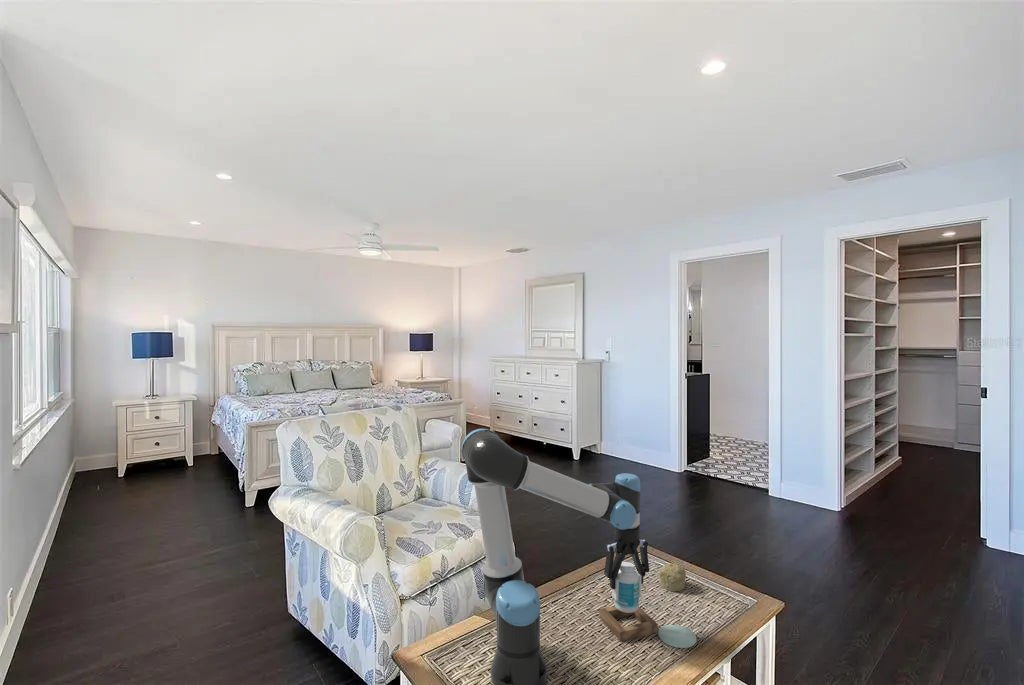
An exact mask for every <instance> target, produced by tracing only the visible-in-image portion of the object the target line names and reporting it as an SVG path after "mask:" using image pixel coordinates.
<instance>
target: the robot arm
mask: <svg viewBox="0 0 1024 685" xmlns="http://www.w3.org/2000/svg"><path fill="white" fill-rule="evenodd" d="M461 444H462V445H461V456H462V457H463V460H464V461H465V462H464V463H465V467H466V468H465V469H466V474H467V480H468V482H469V483H470V484H472V485H473V486H474V491H475V497H476V504H477V510H478V516H479V523H480V529H481V534H482V541H483V546H484V547H483V548H484V553H485V561H486V562H485V564H484V565H483V566H482V574H483V581H482V585H483V586H482V587H483V591H484V592H483V593H484V595H485V597H486V599H487V601H488V604H489V606H490V609H491V611H492V615H493V617H494V618H495V621H496V650H495V653H494V656H493V659H492V661H491V665H490V681H491V683H492V685H546V683H547V678H548V677H547V676H548V675H547V674H548V670H547V669H548V668H547V664H546V661H545V659H544V655H543V651H542V649H541V616H540V615H541V600H540V595H539V592H538V589H536V587H535V586H534V585H533V584H531V583H527V582H526V581H525V578H524V577H525V576H524V571H523V570H524V569H523V565H522V564H523V563H522V560H521V559H520V558H519V557H517V556H516V553H515V546H514V538H513V533H512V525H511V519H510V514H509V513H510V512H509V506H508V502H507V494H506V488H507V489H509V490H512V491H517V490H519V489H521V490H523V491H527V492H529V493H531V494H534V495H537V496H540V497H543V498H545V499H547V500H551V501H553V502H556V503H559V504H561V505H563V506H566V507H568V508H571V509H574V510H577V511H579V512H582V513H585V514H587V515H590V516H592V517H595V518H597V519H599V520H603V521H605V522H608V523H610V524H611V525H612V527H614V536H615V540H614V542H613V543H611V544H610V543H606V545H605V548H606V555H605V556H606V557H605V564H604V572H603V573H604V574H603V575H604V576H605V577H606V578H607V579H609V586H610V589H611V597H612V598H613V599H614V601H615V600H616V601H618V595H619V580H618V579H617V575H618V572H619V569H620V566H621V564H622V562H624V561H623V560H625V558H626V556H628V555H631V557H632V560H633V563H634V566H635V569H636V571H635V572H636V573H637V574H638V576H639V597H642V585H644V578H645V576H646V575H647V574H646V573H649V572H650V563H649V554H648V547H649V546H648V545H649V542H648V541H646V540H645V539H644V538H641V539H640V531H641V529H640V528H641V527H640V524H641V523H640V522H641V521H640V518H641V516H640V514H641V513H640V512H641V492H642V491H641V480H640V477H639V476H638V475H636V474H633V473H629V472H627V473H624V472H623V473H620V474H619V473H618V474H617V475H615V480H614V481H611V482H601V483H585V482H583V481H580V480H578V479H575V478H573V477H570V476H567V475H566V474H562V473H560V472H558V471H555V470H553V469H551V468H547V467H545V466H543V465H541V464H538V463H535V462H532V461H530V458H529V457H528V455H525V454H523V453H520V452H519V451H517V450H515V449H514V448H512V447H511V446H510V445H508V444H507V443H506V442H505V441H504V440H503V439H502V438H500V437H499V435H498V434H497V433H496V432H495V431H493V430H490V429H488V428H477V429H475V430H472V431H471V432H469V433H468V434H467V435H466V436H465V438H464V440H463V441H462V443H461ZM638 548H639V552H638ZM639 553H640V554H639Z"/></svg>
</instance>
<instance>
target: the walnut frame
mask: <svg viewBox="0 0 1024 685" xmlns="http://www.w3.org/2000/svg"><path fill="white" fill-rule="evenodd" d="M598 611H599V619H600V620H601V622H602V623H603V624H604V625H605V626H606V627H607V628H608V630H610V632H611V633H612V634H613V635H614V636H615V637H616V639H617V640H618V641H619V642H624V641H628V640H633V639H637V638H641V637H645V636H650V635H654V634H658V631H659V629H658V626H659V625H658V623H657V622H656V620H654V619H653V618H652V617H651V616H650V615H649V614H648V613H647V612H646V611H644V609H643V608H642V607H640V606H638V610H637V611H635V612H633V613H625V612H622V611H620V610H618V609H617V608H616V607H615V605H614V606H613V605H612V606H609V607H604V608H600V609H599V610H598ZM629 616H634V618H635V620H637V621H638V622H640V623H636V624H631V625H627V626H622V625H621V624H620V623H619V621H617V619H619V618H624V617H629Z"/></svg>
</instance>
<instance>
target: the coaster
mask: <svg viewBox="0 0 1024 685" xmlns="http://www.w3.org/2000/svg"><path fill="white" fill-rule="evenodd" d="M657 634H658V638H659V640H661V642H663V643H664V644H666V645H667V646H671V647H673V648H677V649H688V648H692V647H693V646H695V645H696V644H697V636H696V634H695V632H693V631H692V630H691V629H689V628H687V627H686V626H682V625H678V624H667V625H666V624H665V625H663V626H661V627H659V629H658V633H657Z"/></svg>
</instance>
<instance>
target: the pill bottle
mask: <svg viewBox="0 0 1024 685" xmlns="http://www.w3.org/2000/svg"><path fill="white" fill-rule="evenodd" d="M635 569H636V566H635V564H633V563H632V562H628V561H622V564H621V566H620V569H619V572H618V575H617V579H618V580H619V595H618V601H616V600H615V599H614V606H615V607H616V608H617V609H618V610H620V611H622V612H625V613H633V612H635V611H637V610H638V606H639V602H640V601H639V600H640V598H639V576H638V574H637V573H636V572H637V571H635ZM639 607H640V606H639Z"/></svg>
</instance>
